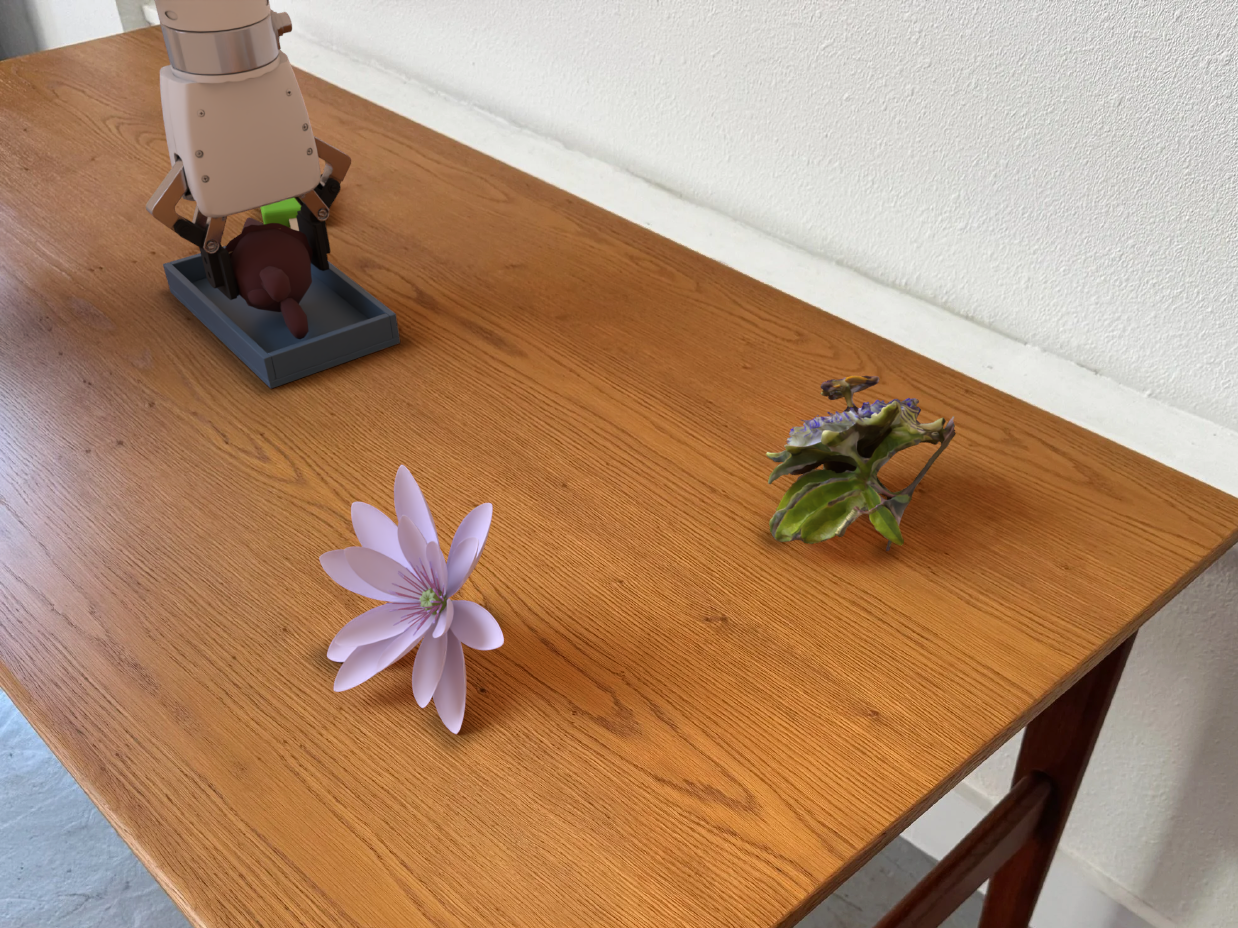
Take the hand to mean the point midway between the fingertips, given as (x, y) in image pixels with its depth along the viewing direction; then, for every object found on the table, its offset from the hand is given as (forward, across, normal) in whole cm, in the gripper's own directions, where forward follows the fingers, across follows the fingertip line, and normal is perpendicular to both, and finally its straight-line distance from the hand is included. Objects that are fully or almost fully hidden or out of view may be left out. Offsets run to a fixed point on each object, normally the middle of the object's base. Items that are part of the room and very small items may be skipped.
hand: (272, 276), depth 98 cm
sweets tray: (+4, 0, 0) cm, 4 cm away
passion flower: (+4, -18, +48) cm, 51 cm away
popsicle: (+4, -9, -16) cm, 19 cm away
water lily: (+4, +12, +42) cm, 44 cm away
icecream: (+2, 0, 0) cm, 3 cm away
